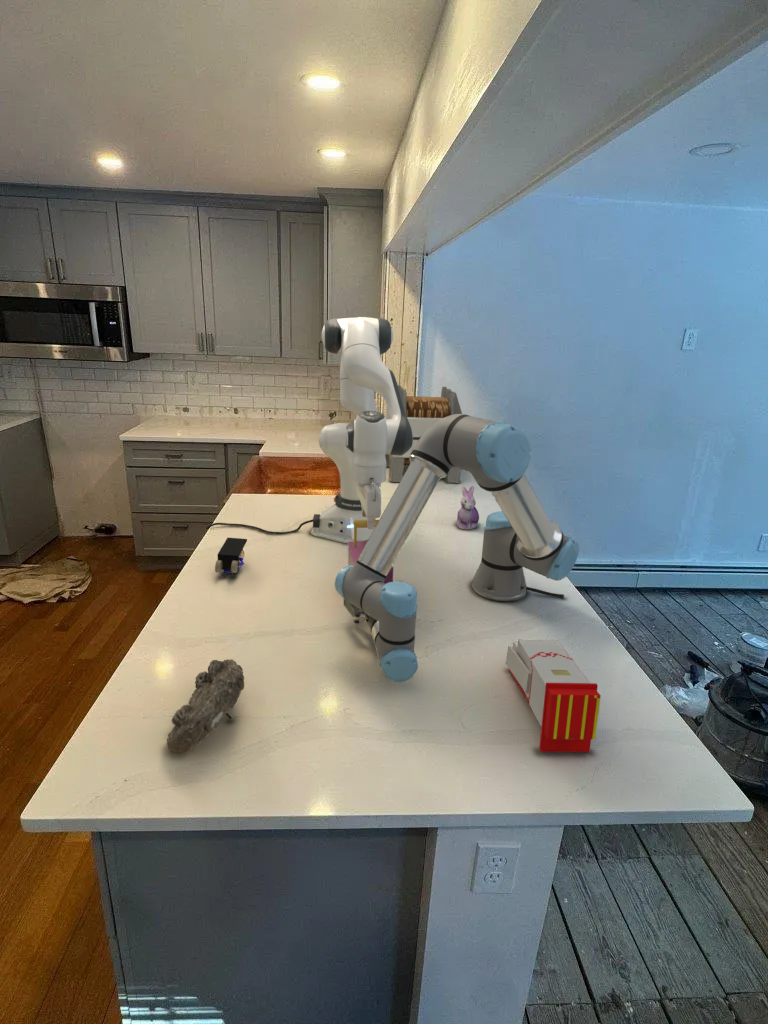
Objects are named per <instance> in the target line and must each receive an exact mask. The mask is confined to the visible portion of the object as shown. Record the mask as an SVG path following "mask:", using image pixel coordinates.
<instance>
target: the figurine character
mask: <svg viewBox="0 0 768 1024" xmlns="http://www.w3.org/2000/svg"><path fill="white" fill-rule="evenodd" d="M247 542H248V538H240V537H226V539H225V541H224V543H223V544H222V546H221V547H220V549H219V551H218V552H217V560H216V562H215V564H214V572H215V573H221V577H222V578H224V577H225V576H226V574H227V573H230V574H231V573H232V574H231V578H234V577H235V575H236V573H237V572H239V571H240V567H242V566H243V565H244V564H245V562H244V558H245V551H244V547H245V546H246V544H247Z"/></svg>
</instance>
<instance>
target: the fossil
mask: <svg viewBox="0 0 768 1024" xmlns="http://www.w3.org/2000/svg"><path fill="white" fill-rule="evenodd" d="M243 670H244V669H243V667H242V665H240V664H237V662H236V661H235V660H234V659H232V658H231V659H227V658H226V659H224V660H223V661H222V660H217V659H212V660H211V661H210V663H209V665H208V666H207V671H201V672H199V673H198V674H197V675H196V676H195V680H194V684H195V685H194V687H195V689H194V690H193V693H192V694H191V697H190V698H189V700H188V704H184V705H182V706H181V707H180V709H177V710H176V711H175V713H174V715H173V716H172V718H171V723H172V724H173V727H172V730H171V731H170V732H168V734H167V738H166V741H167V742H166V745H167V749H168V750H169V751H173V752H174V753H176V754H178V753H182V752H188V751H189V752H192V751H193V750H195V748H196V747H197V746H199V744H200V743H201V742H203V741H204V740H205V739H206V738H207V737H208V736H209V735H210V734H211V733H212V732H214V730H215V729H217V727H218V726H219V724H220V722H221V721H222V720H223V719H224V718H225V716H226V717H227V719H229V720H233V717H232V715H230V714H229V710H230V709H231V708H234V706H235V704H236V703H237V702H238V699H239V697H240V695H241V693H242V691H243V690H245V689H244V688H245V675H244V671H243Z"/></svg>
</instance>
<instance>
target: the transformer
mask: <svg viewBox="0 0 768 1024" xmlns="http://www.w3.org/2000/svg"><path fill="white" fill-rule="evenodd" d="M397 385H398V388H399V391H400V395H401V399H402V402H403V406H404V409H405V413H406V416H407V419H408V421H409V423H410V426H411V429H412V433H413V443H412V447H411V448H410V449H409V450H408V451H407V452H406V453H405V454H403V455H402V456H397V455H390V454H385V458H386V468H387V467H388V468H389V475H388V476H389V477H388V478H389V480H390V482H391V483H400V481H401V479H402V478H403V476H404V469H405V466H406V467H407V466H408V467H409V465H410V460H409V455H410V454H411V452H412V450H413V448H414V447H415V445H416V443H417V442H418V440H419V439H420V438H421V437H422V436H423V434H424V433H425V432H426V431H427V430H428V429H429V428H430V427H431V426H433V425H434V424H435V423H436V422H438V421H439V420H441V419H443V418H445V417H447V416H450V415H454V414H463V411H462V408H461V405H460V402H459V398H458V395H457V392H455V391H453V390H452V389H451V388H447V386H442V387H441V392H440V393H441V394H440V396H415V395H414V396H413V395H412V396H411V395H407V394H408V393H407V390H406V389H404V388H403V387H402V385H399V384H397ZM385 414H386V415H385V417H386V419H390V416H389V412H388V408H387V407H386V413H385ZM461 472H462V469H460V468H457V467H452V468H451V469H450V470H449V472H448V474H447V476H446V477H445V478H444V479H445V481H446V482H447V483H449V484H455V483H456V484H459V483H461Z"/></svg>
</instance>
